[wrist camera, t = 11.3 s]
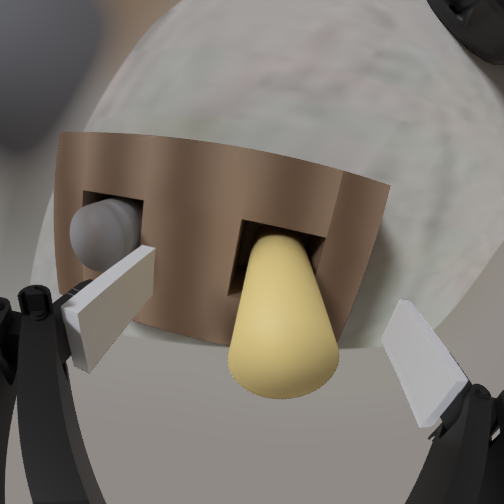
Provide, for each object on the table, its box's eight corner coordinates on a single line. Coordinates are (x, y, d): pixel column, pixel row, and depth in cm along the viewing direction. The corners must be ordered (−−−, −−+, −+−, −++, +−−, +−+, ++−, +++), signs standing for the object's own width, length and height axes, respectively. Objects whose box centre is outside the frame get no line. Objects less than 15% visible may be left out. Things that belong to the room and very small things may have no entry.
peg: (305, 224, 23) (355, 327, 9) (294, 268, 24) (317, 403, 10) (258, 214, 23) (238, 307, 9) (249, 258, 24) (221, 389, 10)
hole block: (358, 178, 22) (403, 189, 13) (317, 317, 27) (331, 380, 18) (106, 134, 22) (43, 132, 14) (97, 266, 27) (46, 303, 18)
